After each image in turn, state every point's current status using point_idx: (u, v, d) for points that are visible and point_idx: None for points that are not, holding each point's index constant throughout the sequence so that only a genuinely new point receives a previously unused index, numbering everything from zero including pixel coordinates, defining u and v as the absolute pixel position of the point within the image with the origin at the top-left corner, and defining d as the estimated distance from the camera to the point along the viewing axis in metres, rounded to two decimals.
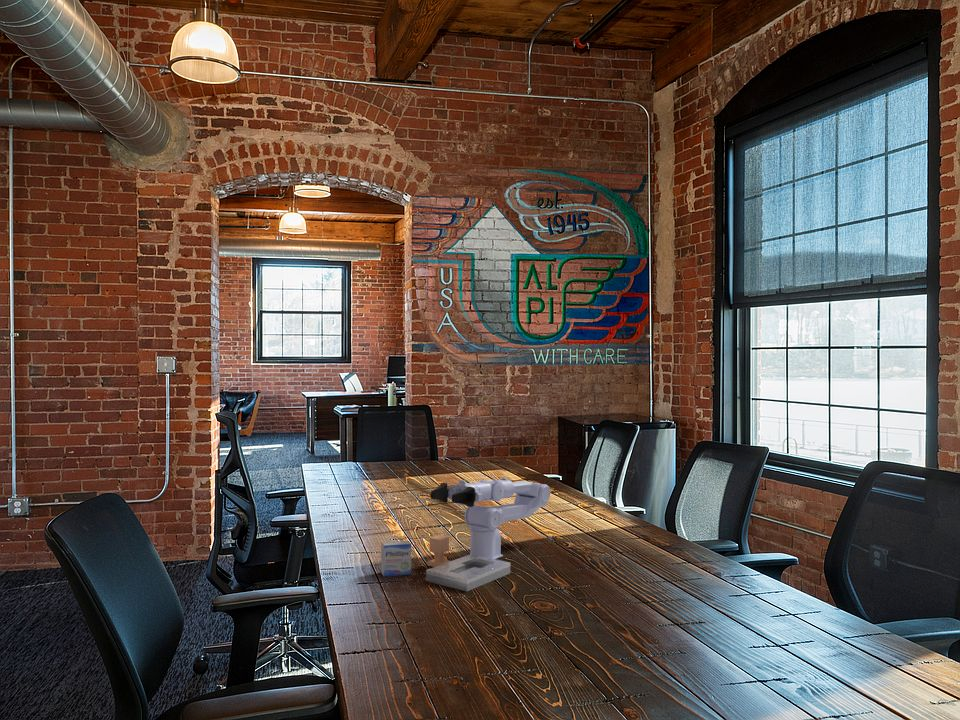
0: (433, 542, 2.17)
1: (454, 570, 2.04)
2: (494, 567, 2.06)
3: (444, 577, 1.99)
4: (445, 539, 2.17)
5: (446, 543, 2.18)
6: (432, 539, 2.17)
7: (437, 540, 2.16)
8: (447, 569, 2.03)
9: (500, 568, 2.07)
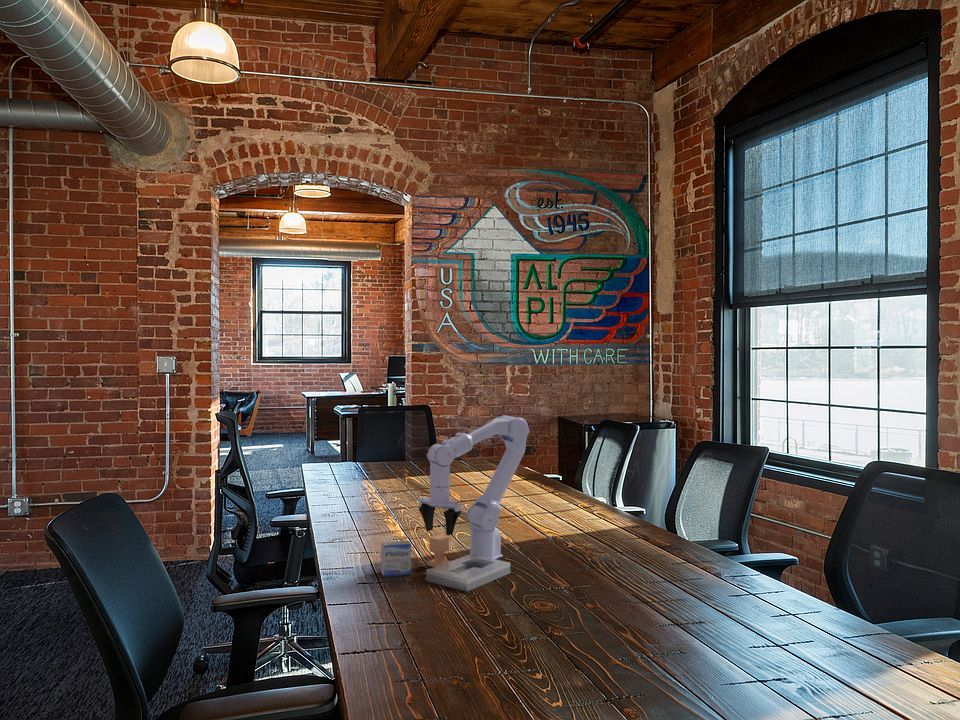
0: (433, 542, 2.17)
1: (454, 570, 2.04)
2: (494, 567, 2.06)
3: (444, 577, 1.99)
4: (445, 539, 2.17)
5: (446, 543, 2.18)
6: (432, 539, 2.17)
7: (437, 540, 2.16)
8: (447, 569, 2.03)
9: (500, 568, 2.07)
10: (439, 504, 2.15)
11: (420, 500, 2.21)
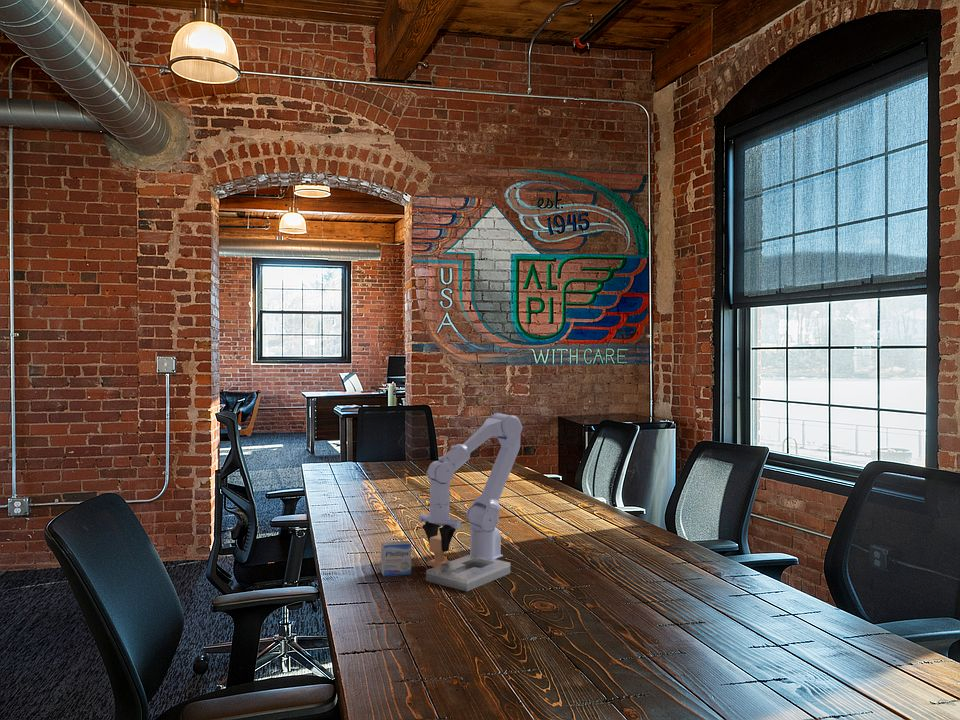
0: (433, 542, 2.17)
1: (454, 570, 2.04)
2: (494, 567, 2.06)
3: (444, 577, 1.99)
4: None
5: None
6: (432, 539, 2.17)
7: (437, 540, 2.16)
8: (447, 569, 2.03)
9: (500, 568, 2.07)
10: (439, 521, 2.15)
11: (420, 517, 2.21)
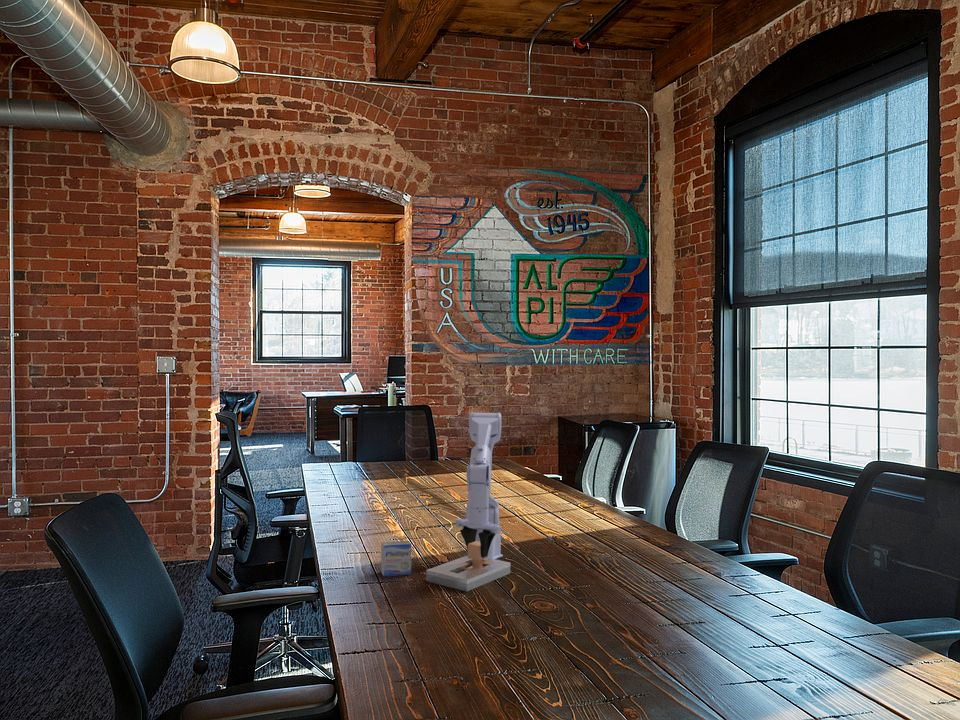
0: (471, 548, 2.09)
1: (454, 570, 2.04)
2: (494, 567, 2.06)
3: (444, 577, 1.99)
4: None
5: None
6: (470, 545, 2.09)
7: (476, 546, 2.08)
8: (447, 569, 2.03)
9: (500, 568, 2.07)
10: (478, 526, 2.07)
11: (457, 521, 2.13)
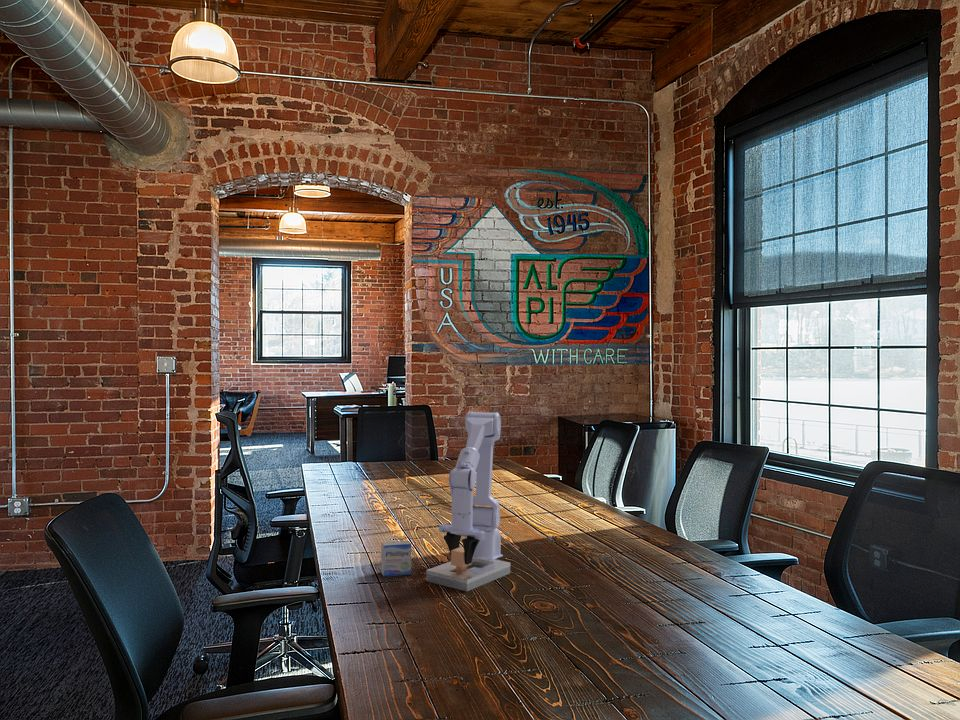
0: (455, 555, 2.03)
1: (454, 570, 2.04)
2: (494, 567, 2.06)
3: (444, 577, 1.99)
4: None
5: None
6: (454, 552, 2.03)
7: (459, 553, 2.02)
8: (447, 569, 2.03)
9: (500, 568, 2.07)
10: (462, 532, 2.01)
11: (441, 527, 2.07)
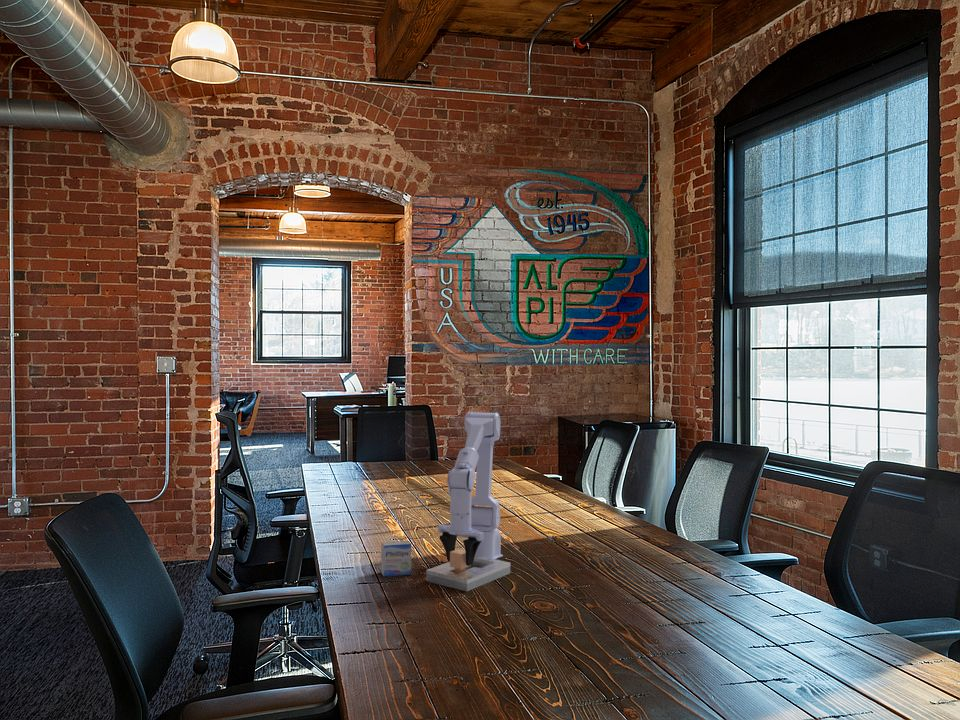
0: (454, 556, 2.02)
1: (454, 570, 2.04)
2: (494, 567, 2.06)
3: (444, 577, 1.99)
4: None
5: None
6: (453, 553, 2.03)
7: (458, 554, 2.01)
8: (447, 569, 2.03)
9: (500, 568, 2.07)
10: (460, 533, 2.00)
11: (439, 528, 2.07)
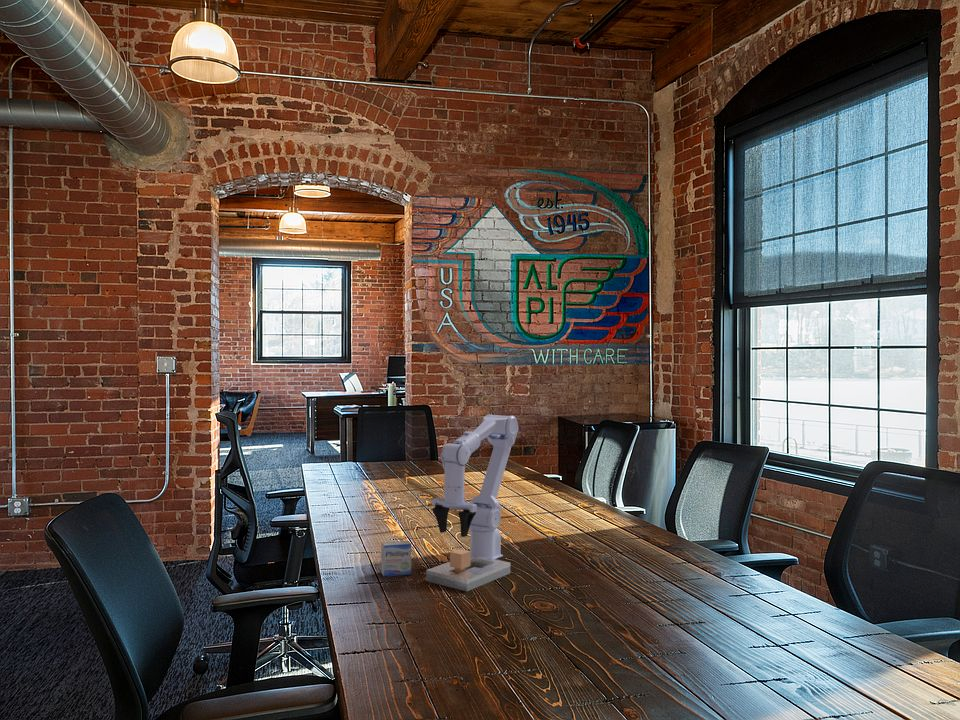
0: (454, 556, 2.02)
1: (454, 570, 2.04)
2: (494, 567, 2.06)
3: (444, 577, 1.99)
4: (466, 553, 2.03)
5: (468, 558, 2.03)
6: (453, 553, 2.03)
7: (458, 554, 2.01)
8: (447, 569, 2.03)
9: (500, 568, 2.07)
10: (454, 505, 2.09)
11: (434, 501, 2.15)
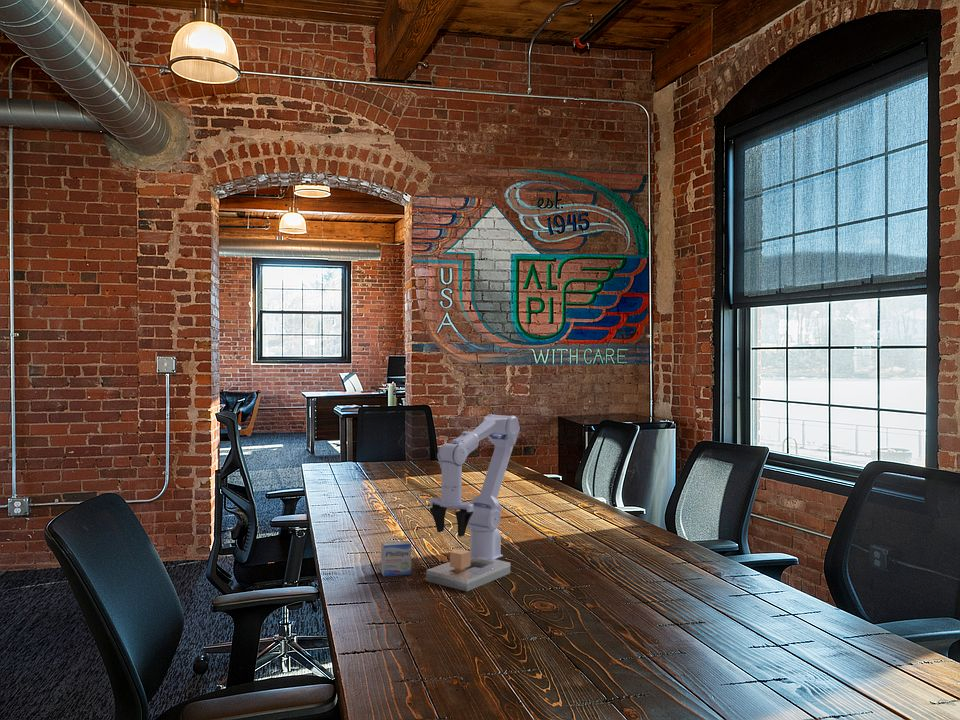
0: (454, 556, 2.02)
1: (454, 570, 2.04)
2: (494, 567, 2.06)
3: (444, 577, 1.99)
4: (466, 553, 2.03)
5: (467, 558, 2.03)
6: (453, 553, 2.03)
7: (458, 554, 2.01)
8: (447, 569, 2.03)
9: (500, 568, 2.07)
10: (451, 504, 2.10)
11: (431, 500, 2.16)
